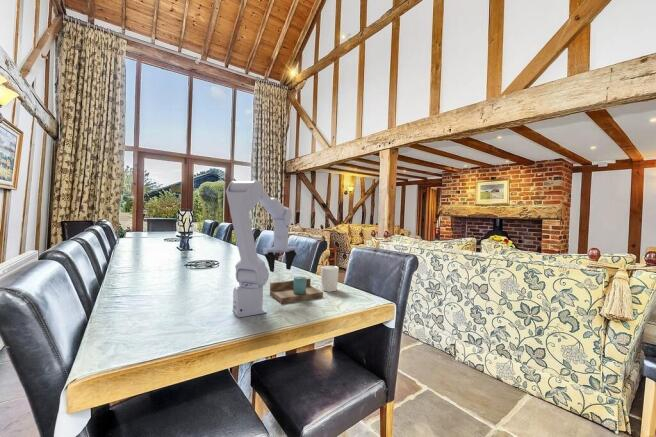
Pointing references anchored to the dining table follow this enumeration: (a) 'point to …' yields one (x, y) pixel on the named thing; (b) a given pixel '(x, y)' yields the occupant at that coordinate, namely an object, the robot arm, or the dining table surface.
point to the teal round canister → (299, 286)
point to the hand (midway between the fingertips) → (280, 270)
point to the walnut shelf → (285, 291)
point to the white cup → (329, 278)
